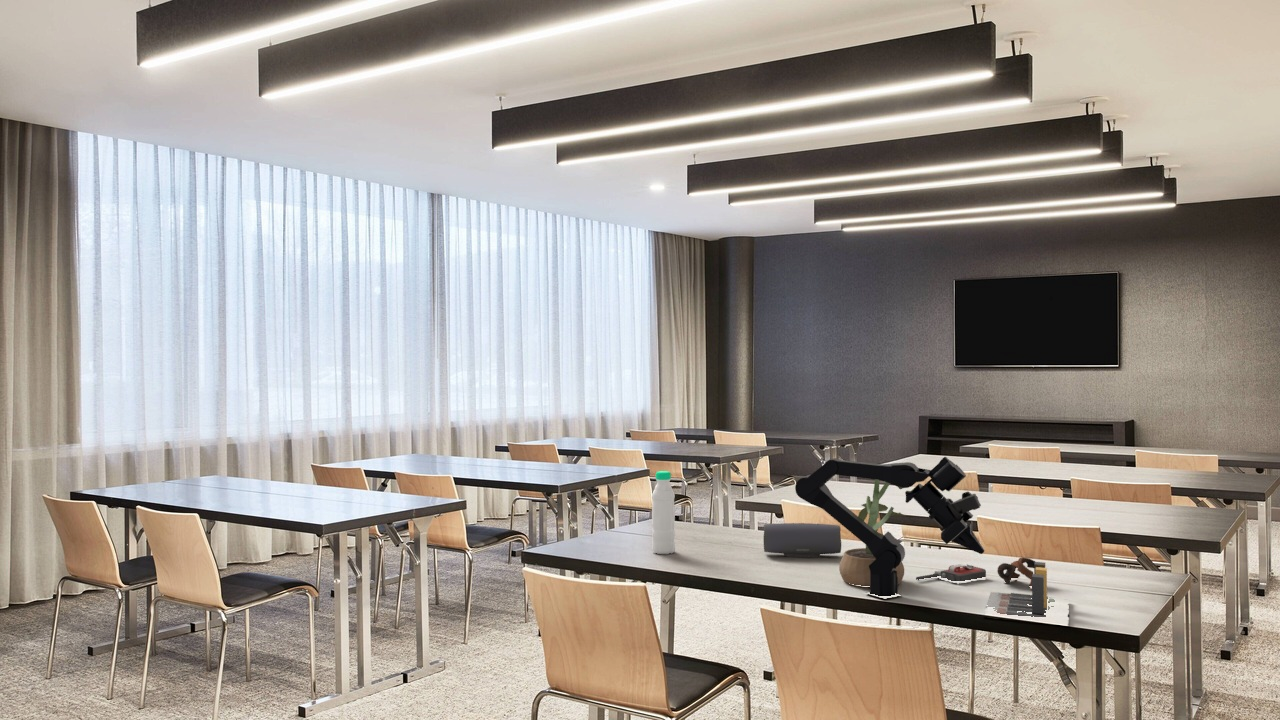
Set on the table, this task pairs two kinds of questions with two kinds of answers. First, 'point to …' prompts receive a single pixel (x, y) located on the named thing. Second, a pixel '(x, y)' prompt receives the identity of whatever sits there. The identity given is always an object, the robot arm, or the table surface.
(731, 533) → the table surface
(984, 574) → the walkie-talkie
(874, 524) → the potted plant
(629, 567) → the table surface
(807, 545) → the bluetooth speaker
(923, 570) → the table surface
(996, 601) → the grey ribbed panel
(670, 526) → the water bottle
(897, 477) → the robot arm
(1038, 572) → the tan wooden tall block
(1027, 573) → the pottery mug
